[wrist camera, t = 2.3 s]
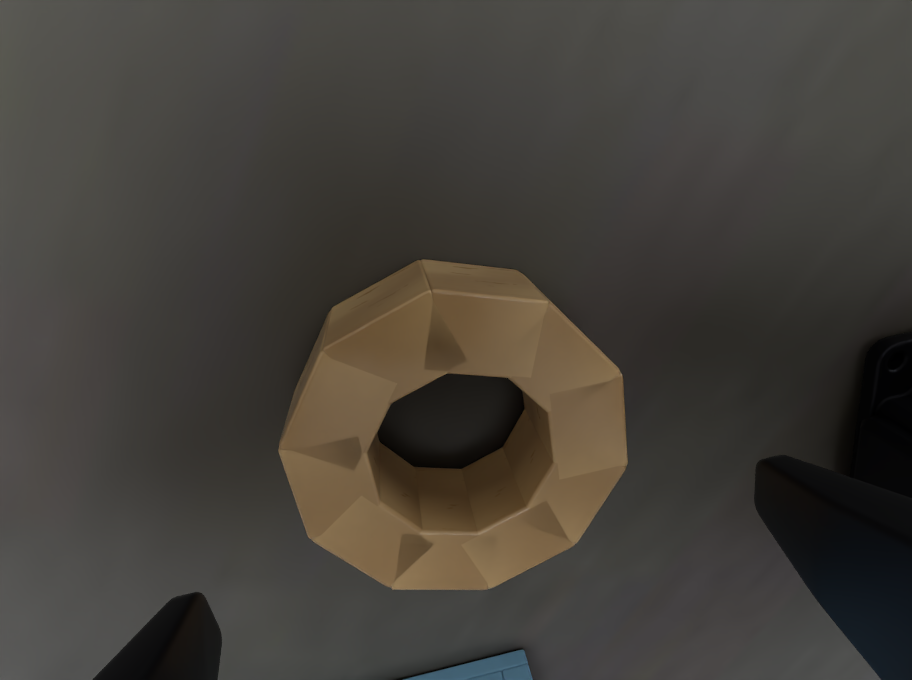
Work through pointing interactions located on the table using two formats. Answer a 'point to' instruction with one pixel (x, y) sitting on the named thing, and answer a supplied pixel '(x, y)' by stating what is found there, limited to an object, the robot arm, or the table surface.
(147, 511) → the table surface
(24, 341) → the table surface
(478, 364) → the wooden ring
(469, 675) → the tray
